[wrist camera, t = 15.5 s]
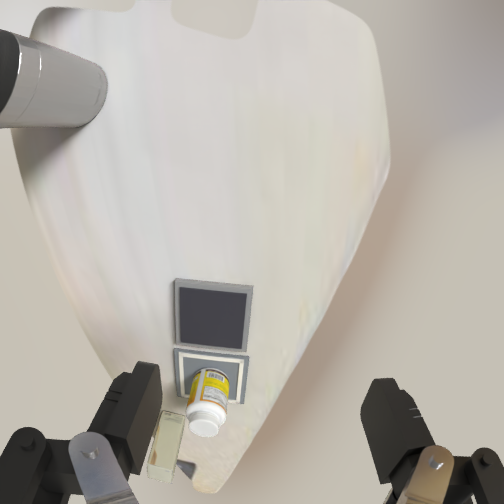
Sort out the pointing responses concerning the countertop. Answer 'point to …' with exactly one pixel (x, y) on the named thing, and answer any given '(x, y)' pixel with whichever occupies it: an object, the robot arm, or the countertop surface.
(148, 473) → the skincare box
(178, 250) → the countertop surface
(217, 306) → the ink pad
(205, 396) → the supplement bottle
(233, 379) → the grey square pad
